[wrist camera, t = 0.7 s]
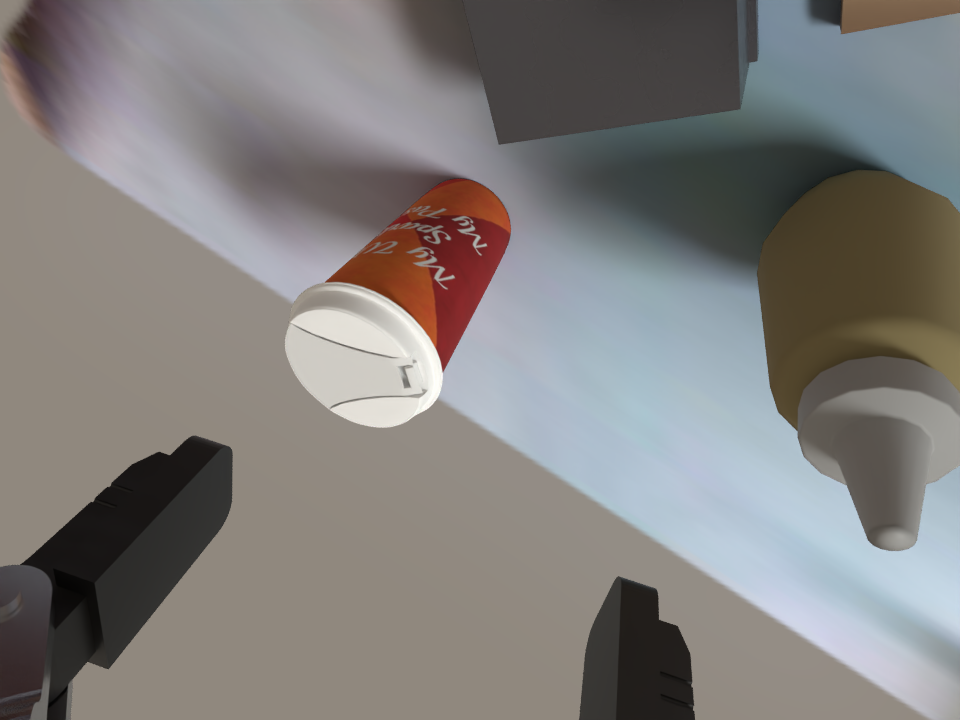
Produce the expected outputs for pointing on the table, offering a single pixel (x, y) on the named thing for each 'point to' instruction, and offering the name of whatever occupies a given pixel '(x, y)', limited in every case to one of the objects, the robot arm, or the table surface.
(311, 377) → the paper cup
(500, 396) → the table surface
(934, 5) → the board
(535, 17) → the dispenser
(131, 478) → the robot arm
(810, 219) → the squeeze bottle
